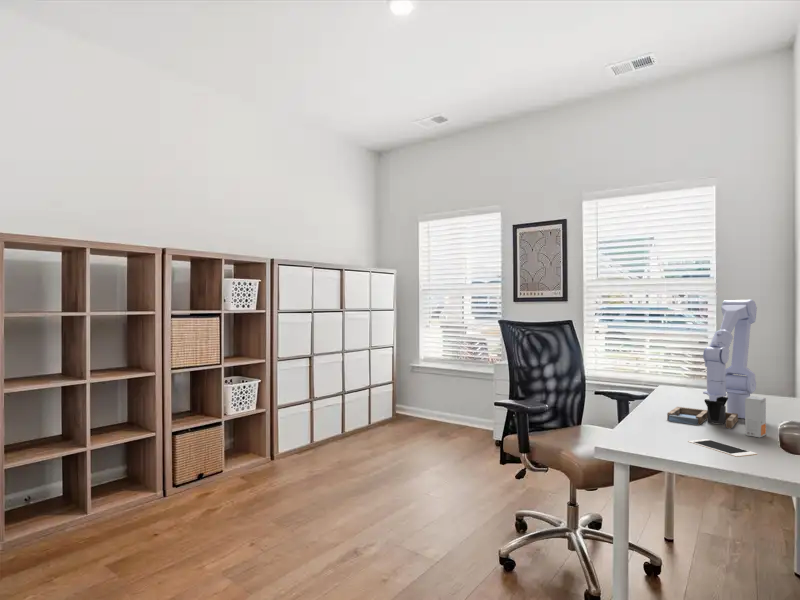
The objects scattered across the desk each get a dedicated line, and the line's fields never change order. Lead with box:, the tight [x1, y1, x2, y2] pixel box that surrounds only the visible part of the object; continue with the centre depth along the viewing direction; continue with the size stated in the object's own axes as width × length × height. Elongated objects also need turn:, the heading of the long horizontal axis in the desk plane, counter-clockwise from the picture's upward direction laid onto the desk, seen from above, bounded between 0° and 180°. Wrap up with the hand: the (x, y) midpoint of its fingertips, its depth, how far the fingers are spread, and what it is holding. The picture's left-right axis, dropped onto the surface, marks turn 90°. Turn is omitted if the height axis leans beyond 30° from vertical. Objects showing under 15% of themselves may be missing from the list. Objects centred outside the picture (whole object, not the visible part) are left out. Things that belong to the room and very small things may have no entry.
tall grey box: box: [706, 405, 727, 426], centre depth 174 cm, size 4×5×6 cm
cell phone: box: [687, 438, 758, 458], centre depth 143 cm, size 8×16×1 cm, turn 16°
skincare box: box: [744, 395, 767, 438], centre depth 157 cm, size 6×4×12 cm
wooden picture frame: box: [666, 406, 739, 429], centre depth 177 cm, size 17×20×2 cm
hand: (716, 418), depth 174 cm, fingers open, 7 cm apart
